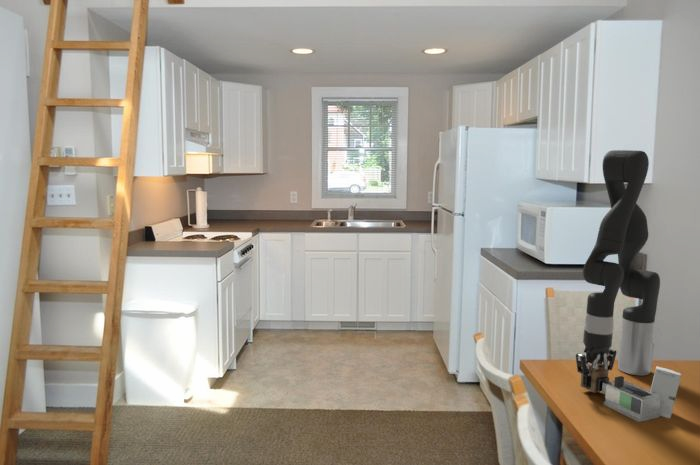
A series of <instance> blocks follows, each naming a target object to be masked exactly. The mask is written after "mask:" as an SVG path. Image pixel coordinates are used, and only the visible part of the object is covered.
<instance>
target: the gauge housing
mask: <svg viewBox="0 0 700 465" xmlns="http://www.w3.org/2000/svg"><path fill="white" fill-rule="evenodd" d="M623 388H625V389H628V390H630V391H632V392H634V393H632V392H630V391H627V390H625V389H623ZM623 388H621V387H618V388H617V387H614V386H613V385H612V384H611V383H609V384H607V386H606V394H605V396H604V398H605V400H604V401H603V405H604V406H605V407H607V408H609V409H611V410H613V411H615V412H617V413H620V414H621V415H623V416H626V417H627V418H629V419H632V420H634V421H636V422H638V423H642V422H645V421H649V420H653V419H658V418H661V416H660V413H659V406H660V395H658V394H655V393H653V392H650V390H648V389H646V388H643V387H641V386H639V385H636V384H634V383H632V382H629V381H628V380H625V379H624V384H623Z"/></svg>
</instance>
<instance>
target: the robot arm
mask: <svg viewBox="0 0 700 465" xmlns="http://www.w3.org/2000/svg"><path fill="white" fill-rule="evenodd" d="M649 164H650V161H649V156H648V154H647V153H646V152H645V151H644V150H631V149H630V150H628V149H627V150H625V149H623V150H622V149H618V150H616V149H615V150H609V151H607V152H606V153H605V154H604V157H603V159H602V174H603V179H604V183H605V187H606V191H607V195H608V200H609V204H610V210H608V212H607V213H606V214H605V215H604V217H603V218H602V220H601V221H600V222H601V223H600V225H599V229H598V233H597V237H596V242H595V244H594V247H593V249H592V251H591V252H590V254H589V256H588V258H587V259H586V261H585V263H584V265H583V269H582V277H583V279H584V281H585V282H586V283H588V284H591V285H592V284H593V285H597V286H601V287H604V289H603V292H602V291H601V292H590V293H589V294H588V296H587V299H586V300H587V302H586V313H585V318H584V329H583V338H582V339H583V340H582V341H583V342H582V343H583V344H584V346H585V348H584V350H583V352H582V353H579V352H577V353H576V354H575V361H576V370H577V373H579V374H581V373H582V374H583V386H584V387H586V388H591V377H592V376H591V375H592V371H593V369H595V368H596V365H597V366H600V367H602V368H604V369H607V370H609V371H613V368H614V364H615V360H616V356H617V350H615V349H612V348H611V347H612V345H613V334H614V311H615V302H616V299H617V296H618V292H619V290H620V292H621V293H622V295H623V296H626V297H629V298H632V299H633V298H634V299H638V300H642V302H641V304H640V305H636V306H635V305H634V306H628V307H625V308H623V310H622V316H621V318H622V319H621V326H620V327H621V330H620V340H619V350H618V361H617V362H618V363H617V364H618V365H617V369H618V370H619V371H621V372H623V373H626V374H629V375H634V376H648V375H650V373H652V370H653V369H652V368H653V359H654V358H653V357H654V348H655V344H654V342H653V341H654V333H655V332H654V331H655V320H656V314H657V309H658V308H657V307H658V300H659V295H660V294H659V293H660V288H661V287H660V286H661V278H660V274H658V273H657V272H656V271H651V270H643V269H637V268H635V267H634V261H635V258H636V256H637V255H638V253H640V251H642V249H643V248H644V246H645V245H646V243H647V241H648V239H649V226H648V220H647V219H648V218H647V216H646V214H645V212H644V211H643V209H642V208H641V207H640V206H639V204H638V203H637V202H638V199H639V196H640V194H641V192H642V188H643V186H644V184H645V181H646V179H647V174H648V172H649ZM624 183H625V184H627V185H626V186H625V184H624ZM610 255H611V256H613V255H617V260H618V263H617V262H612V261H606V260H605V259H606V258H607V257H608V256H610ZM588 367H589V370H588V371H587V368H588ZM586 388H585V389H586Z"/></svg>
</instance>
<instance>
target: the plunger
mask: <svg viewBox="0 0 700 465" xmlns="http://www.w3.org/2000/svg"><path fill="white" fill-rule="evenodd" d="M609 383H611V384H612V385H613V386H614V383H615V380H612V381H610V377H609V376H608V377H601V378H597V388H596V390H597V391H599V392H598V393H600V392H601V393H603V394H604V395H606V386H607V384H609ZM621 388H623V387H621ZM623 389H625V388H623ZM625 390H627V391H630V390H628V389H625ZM630 392H632V391H630ZM632 393H634V392H632Z"/></svg>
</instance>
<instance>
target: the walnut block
mask: <svg viewBox="0 0 700 465" xmlns="http://www.w3.org/2000/svg"><path fill="white" fill-rule="evenodd" d="M588 370H589V367H588V368H587V371H588ZM609 371H610V370H607V369H604V368H602V367H600V366H597V365H596V368H595V369H593V371H592V375H591V376H592V377H591V388H586V387H584V386H583V374H582V373H580V374H581V376H580V387H582V388H584V389H586V390H588V391H590V392H592V393H594V394H595V393H600V392H599V391H597V390H596V388H597V378H601V377H609Z"/></svg>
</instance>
